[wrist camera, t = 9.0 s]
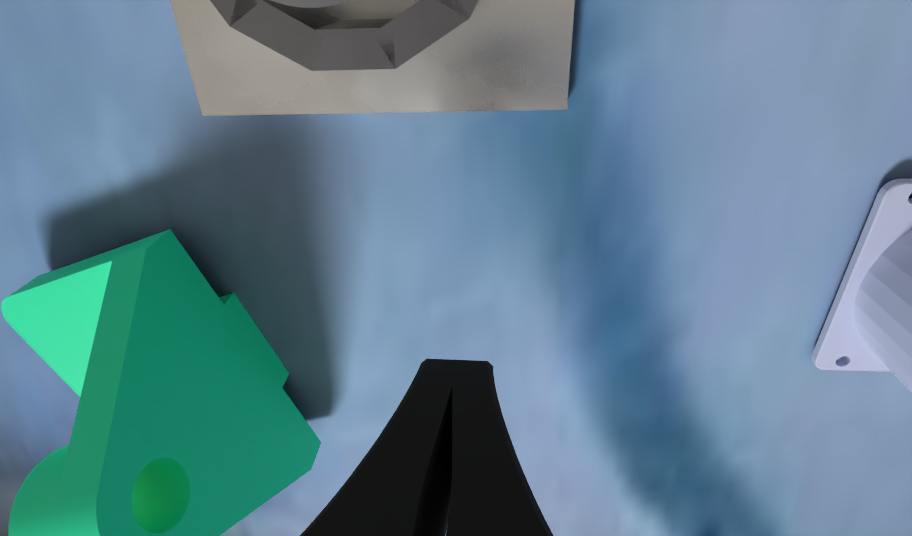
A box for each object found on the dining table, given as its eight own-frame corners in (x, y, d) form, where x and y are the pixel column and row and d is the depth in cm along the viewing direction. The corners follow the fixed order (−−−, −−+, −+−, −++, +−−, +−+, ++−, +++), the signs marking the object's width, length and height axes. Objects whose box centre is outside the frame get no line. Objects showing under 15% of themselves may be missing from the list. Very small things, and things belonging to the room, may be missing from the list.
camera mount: (40, 268, 22) (-265, 472, 13) (185, 216, 20) (-59, 414, 11) (202, 452, 28) (61, 684, 19) (327, 424, 26) (237, 667, 17)
